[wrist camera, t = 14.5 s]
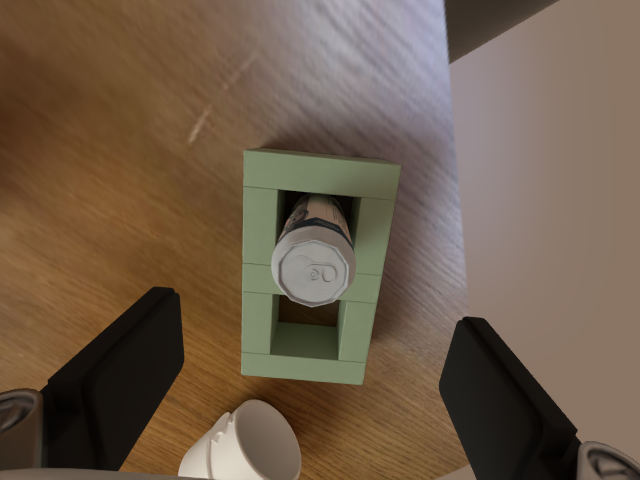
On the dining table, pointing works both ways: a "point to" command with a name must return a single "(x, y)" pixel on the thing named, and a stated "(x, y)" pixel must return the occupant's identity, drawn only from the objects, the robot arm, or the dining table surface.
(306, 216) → the beer can
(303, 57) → the dining table surface
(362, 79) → the dining table surface
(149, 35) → the dining table surface
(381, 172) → the holder
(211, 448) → the mug
